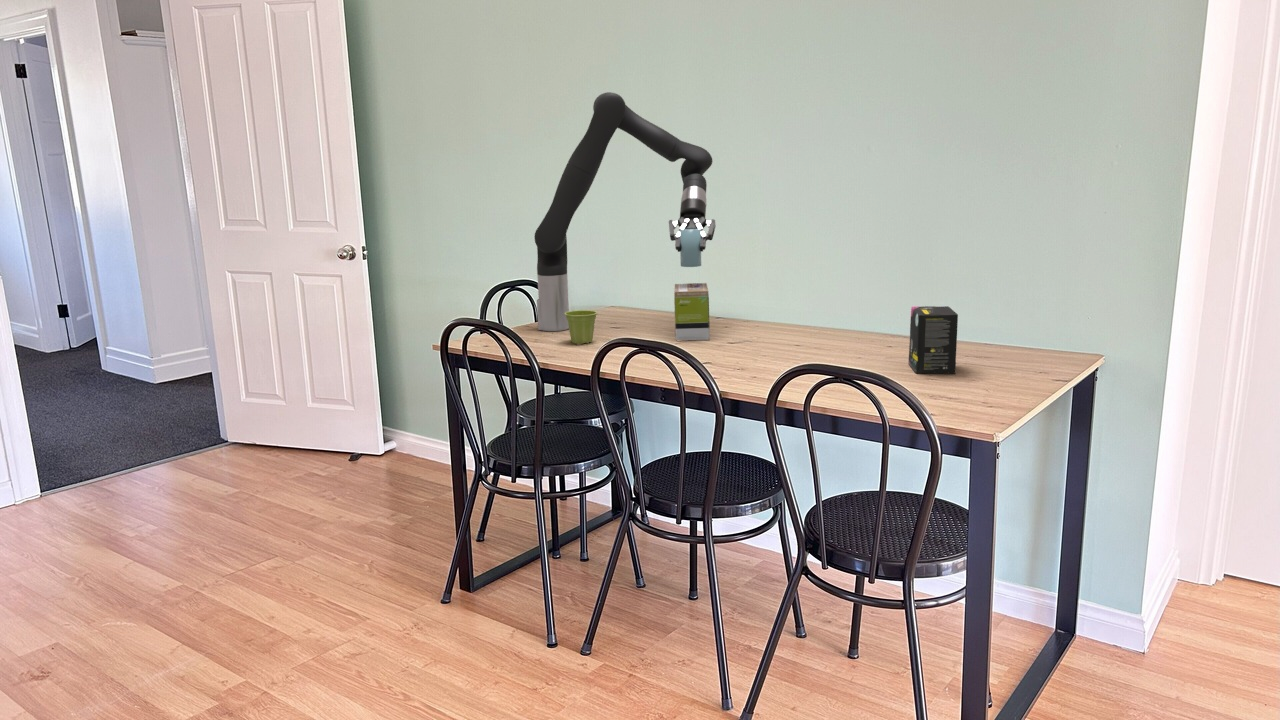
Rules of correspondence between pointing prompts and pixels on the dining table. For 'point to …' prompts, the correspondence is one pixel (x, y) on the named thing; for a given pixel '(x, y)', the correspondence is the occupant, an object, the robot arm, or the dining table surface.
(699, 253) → the light blue rounded cylinder
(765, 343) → the dining table surface
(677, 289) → the tea box
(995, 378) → the dining table surface
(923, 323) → the tampon box
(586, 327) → the plant pot
